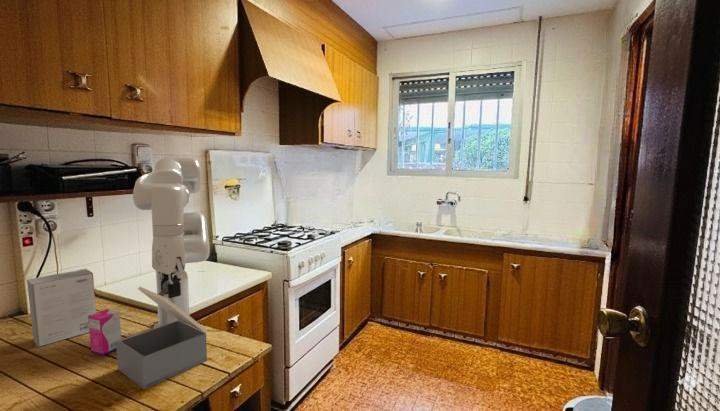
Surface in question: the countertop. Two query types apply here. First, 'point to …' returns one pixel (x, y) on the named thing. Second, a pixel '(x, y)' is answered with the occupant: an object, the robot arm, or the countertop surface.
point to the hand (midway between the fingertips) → (171, 294)
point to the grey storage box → (161, 353)
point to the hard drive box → (61, 305)
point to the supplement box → (104, 331)
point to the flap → (171, 306)
